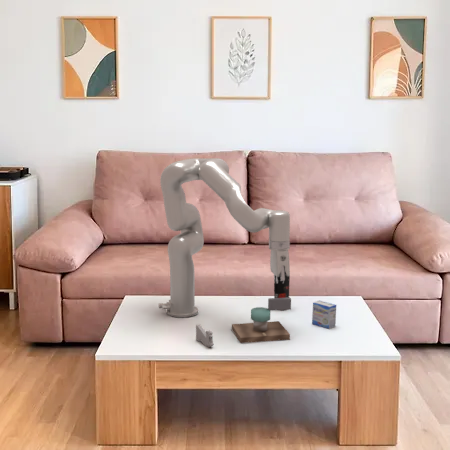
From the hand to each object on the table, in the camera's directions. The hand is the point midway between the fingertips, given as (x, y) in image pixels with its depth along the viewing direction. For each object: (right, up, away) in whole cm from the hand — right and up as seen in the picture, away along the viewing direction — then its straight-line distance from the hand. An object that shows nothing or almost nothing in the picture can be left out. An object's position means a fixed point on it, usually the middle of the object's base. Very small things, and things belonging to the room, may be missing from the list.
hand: (278, 293), depth 254 cm
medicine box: (+17, -13, +6) cm, 22 cm away
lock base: (-7, -14, -4) cm, 17 cm away
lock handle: (-3, -8, -5) cm, 10 cm away
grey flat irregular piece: (-27, -17, -14) cm, 34 cm away
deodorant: (+3, -9, +25) cm, 26 cm away
